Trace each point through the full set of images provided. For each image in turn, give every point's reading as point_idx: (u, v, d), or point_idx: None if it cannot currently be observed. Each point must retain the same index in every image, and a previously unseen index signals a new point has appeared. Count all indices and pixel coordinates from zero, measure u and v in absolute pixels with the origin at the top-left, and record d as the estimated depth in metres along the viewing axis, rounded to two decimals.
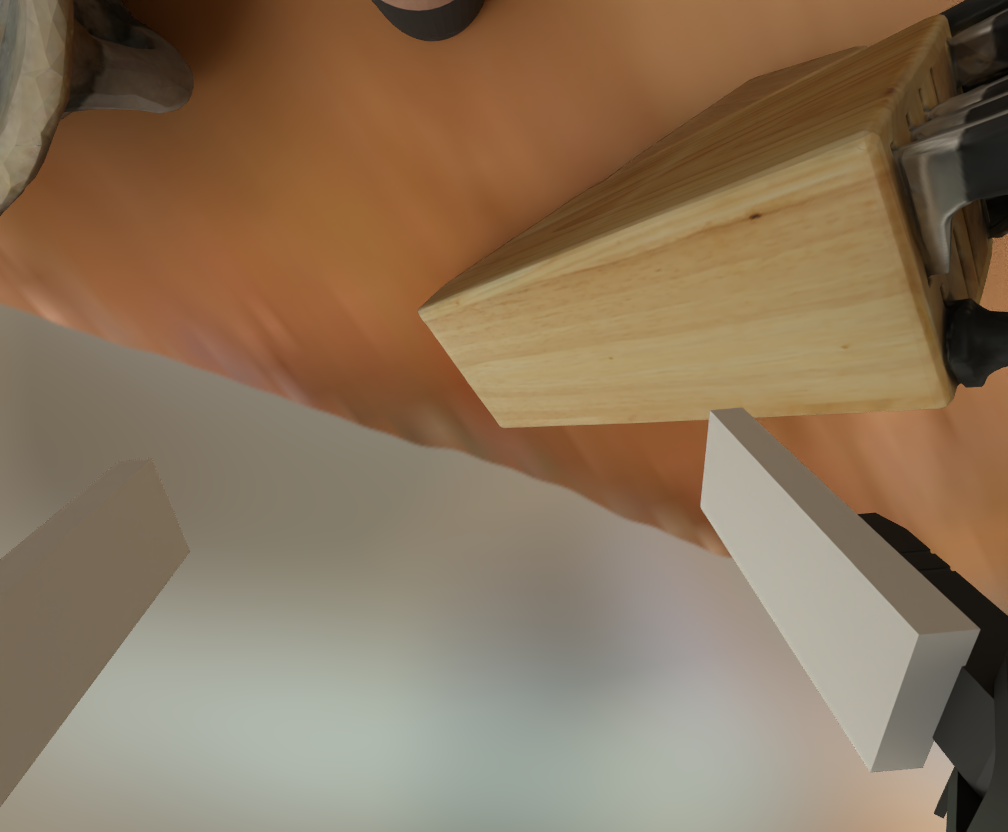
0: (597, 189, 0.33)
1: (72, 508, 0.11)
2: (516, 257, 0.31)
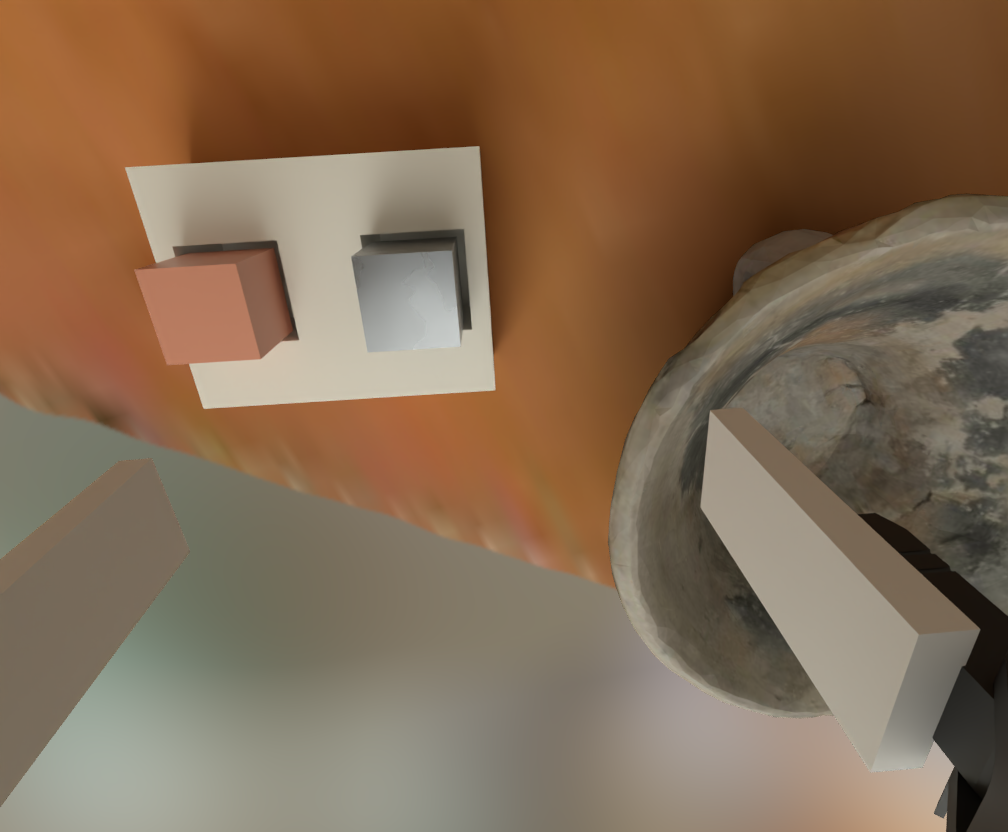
0: None
1: (72, 508, 0.11)
2: None
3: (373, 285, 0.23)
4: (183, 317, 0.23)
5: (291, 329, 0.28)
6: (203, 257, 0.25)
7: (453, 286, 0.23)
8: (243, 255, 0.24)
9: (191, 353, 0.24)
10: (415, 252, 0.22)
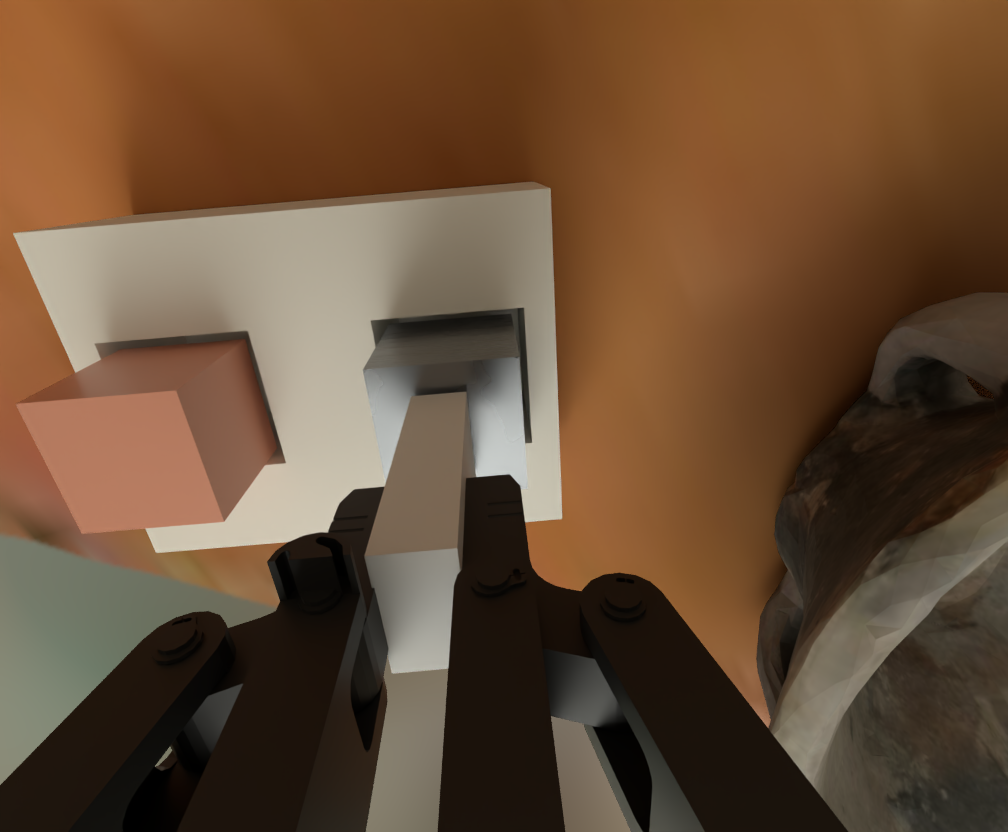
0: None
1: (411, 426, 0.13)
2: None
3: (398, 409, 0.15)
4: (100, 468, 0.15)
5: (274, 447, 0.20)
6: (136, 365, 0.16)
7: (520, 407, 0.15)
8: (195, 362, 0.16)
9: (118, 517, 0.16)
10: (462, 360, 0.14)
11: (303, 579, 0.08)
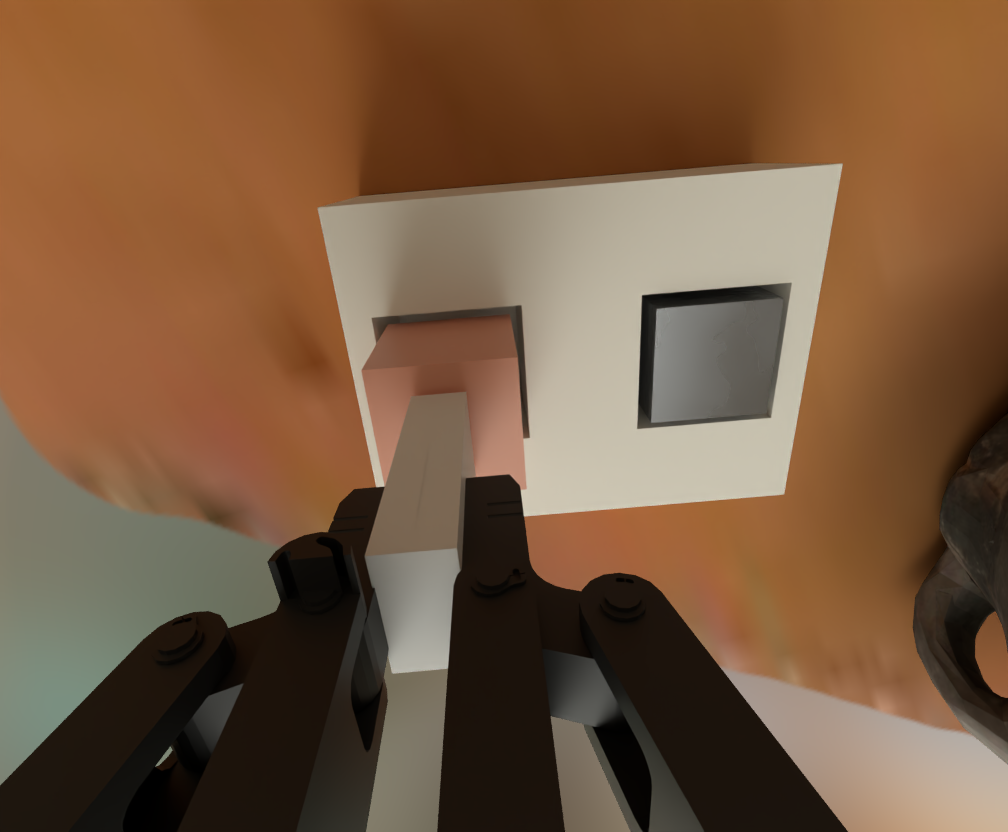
0: None
1: (412, 426, 0.13)
2: None
3: (677, 342, 0.18)
4: None
5: None
6: (431, 337, 0.17)
7: (775, 341, 0.18)
8: (493, 333, 0.16)
9: None
10: (735, 301, 0.18)
11: (303, 579, 0.08)
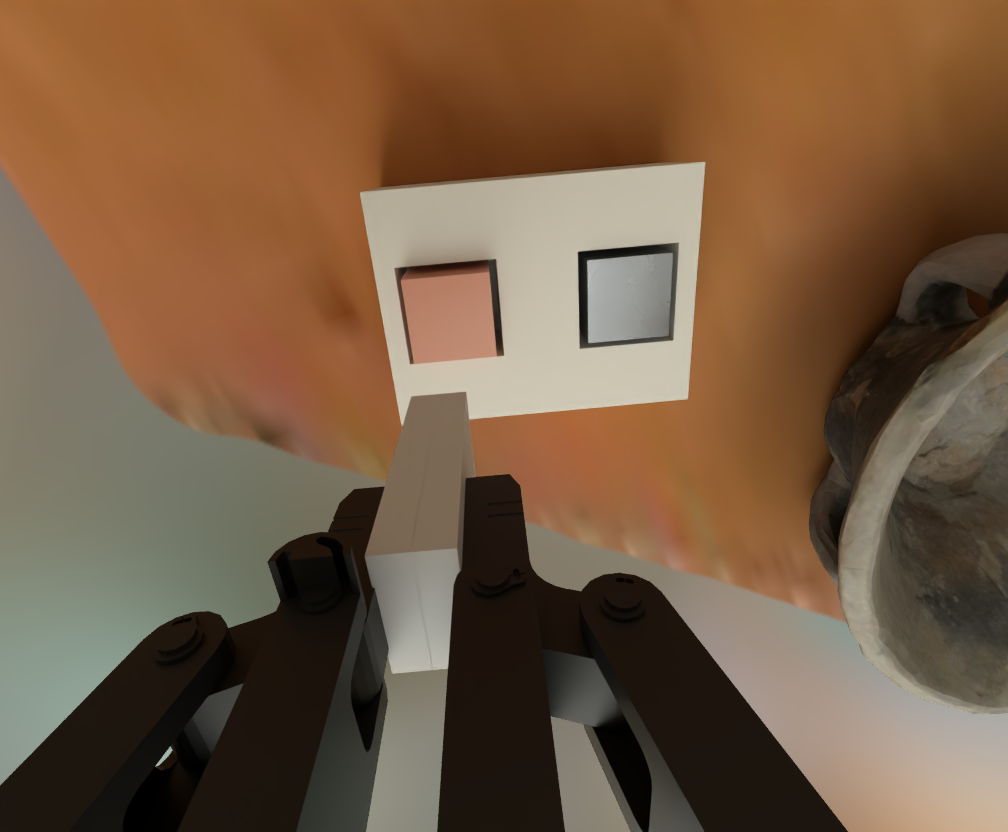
0: None
1: (411, 426, 0.13)
2: None
3: (602, 284, 0.27)
4: (435, 320, 0.26)
5: None
6: (439, 267, 0.28)
7: (670, 283, 0.27)
8: (476, 264, 0.27)
9: (437, 353, 0.27)
10: (641, 255, 0.26)
11: (304, 579, 0.08)
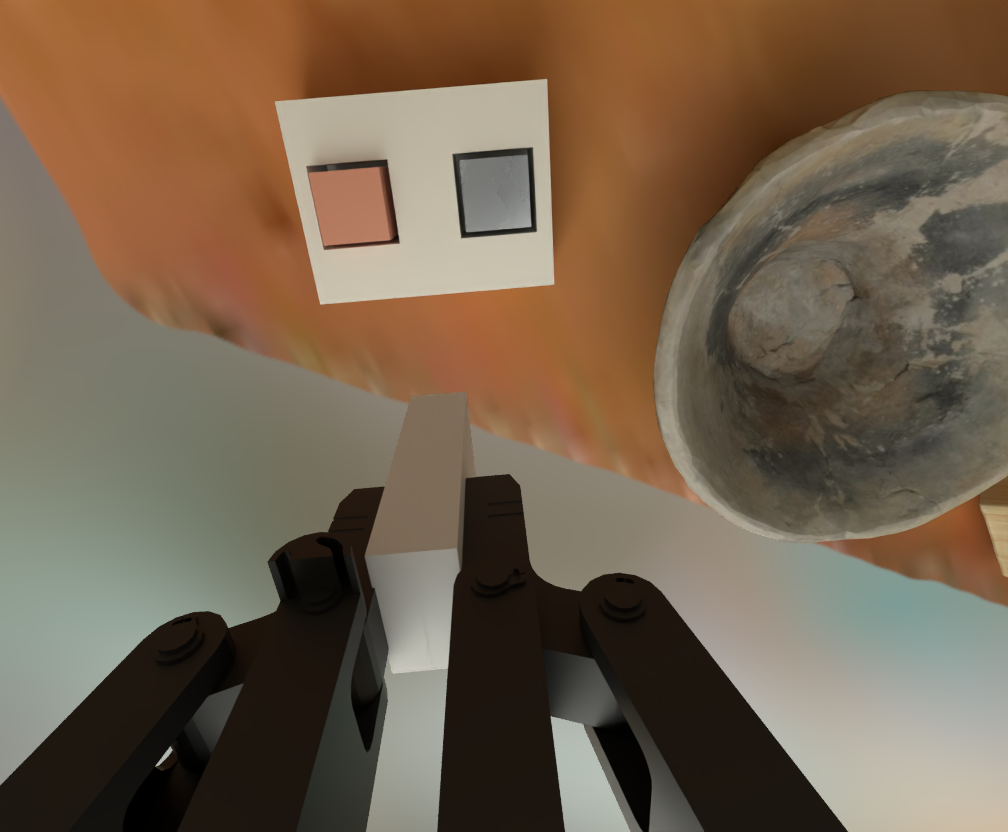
0: None
1: (411, 426, 0.13)
2: None
3: (473, 181, 0.33)
4: (338, 208, 0.33)
5: None
6: None
7: (527, 181, 0.33)
8: None
9: (341, 236, 0.34)
10: (502, 157, 0.33)
11: (304, 579, 0.08)
